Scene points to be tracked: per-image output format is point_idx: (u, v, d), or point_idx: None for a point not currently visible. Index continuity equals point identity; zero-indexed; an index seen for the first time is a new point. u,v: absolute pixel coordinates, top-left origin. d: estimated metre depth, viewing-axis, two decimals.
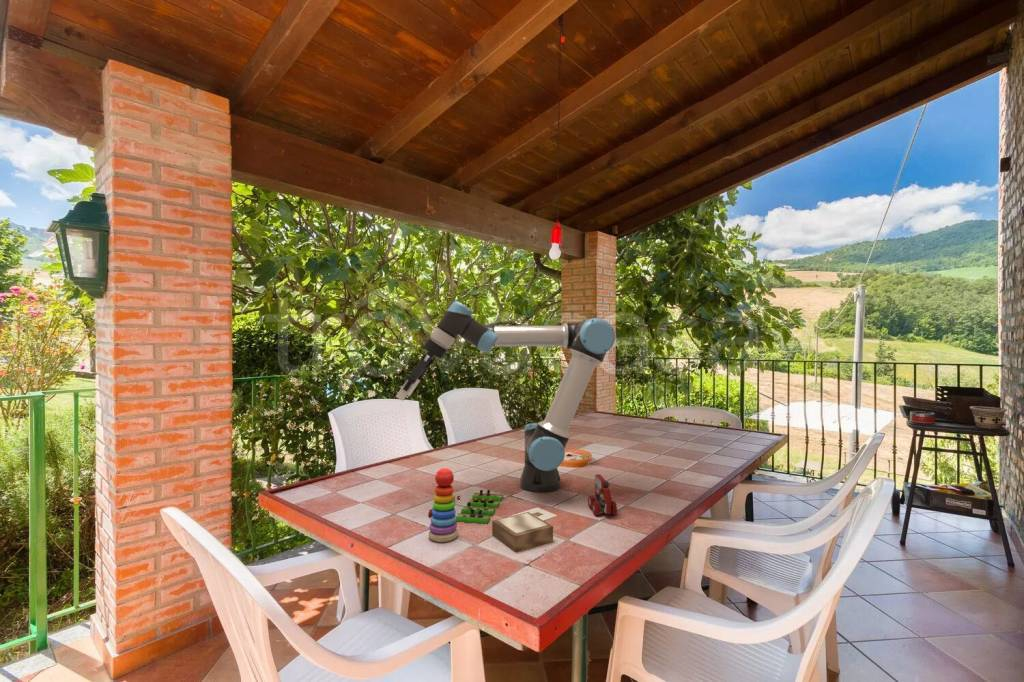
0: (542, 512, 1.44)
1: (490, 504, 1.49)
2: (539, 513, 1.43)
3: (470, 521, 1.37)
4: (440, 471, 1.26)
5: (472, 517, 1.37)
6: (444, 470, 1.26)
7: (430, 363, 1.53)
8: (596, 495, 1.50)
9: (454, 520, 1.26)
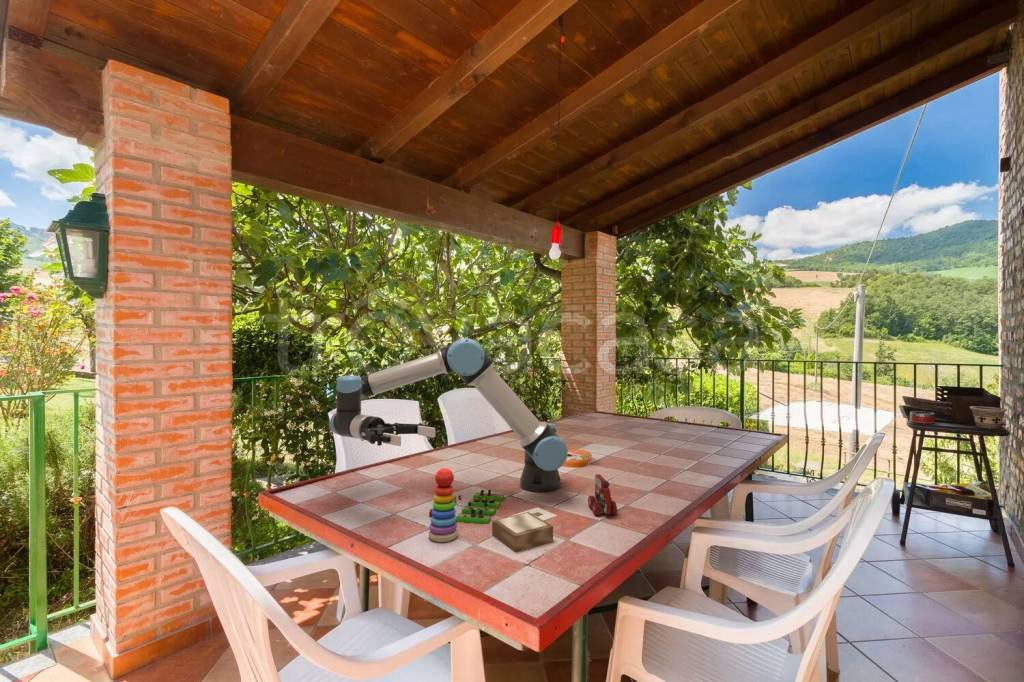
0: (542, 512, 1.44)
1: (491, 504, 1.49)
2: (539, 513, 1.43)
3: (471, 521, 1.37)
4: (440, 471, 1.26)
5: (473, 517, 1.37)
6: (444, 470, 1.26)
7: (377, 426, 1.38)
8: (596, 495, 1.50)
9: (454, 520, 1.26)
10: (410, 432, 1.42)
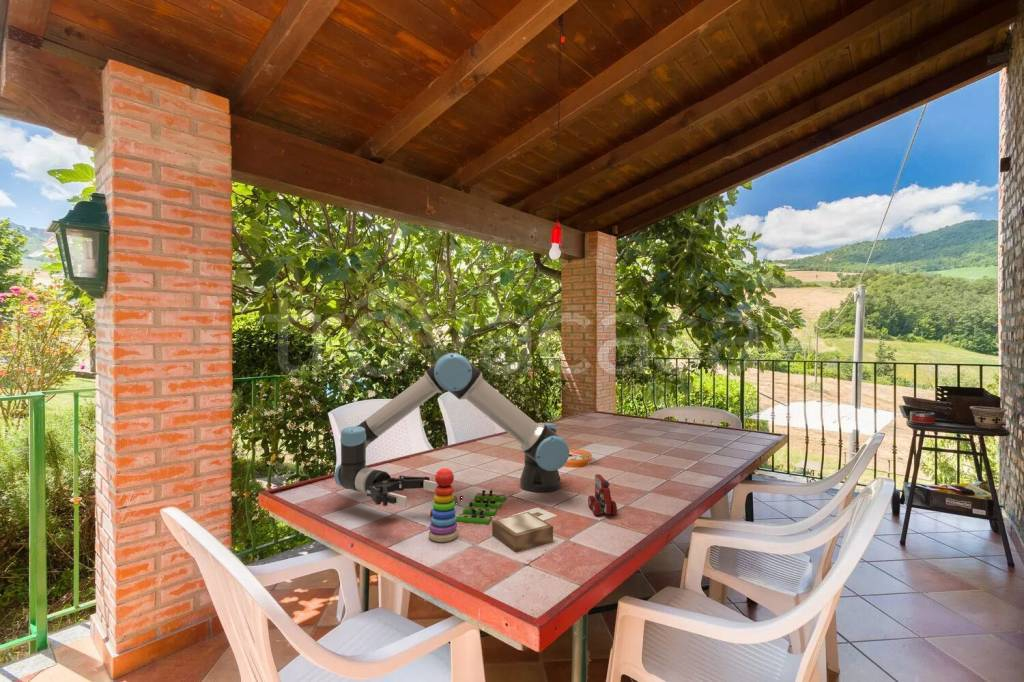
0: (542, 512, 1.44)
1: (492, 504, 1.49)
2: (539, 513, 1.43)
3: (471, 521, 1.36)
4: (440, 471, 1.26)
5: (473, 517, 1.37)
6: (444, 470, 1.26)
7: (382, 482, 1.37)
8: (596, 495, 1.50)
9: (454, 520, 1.26)
10: (415, 487, 1.40)
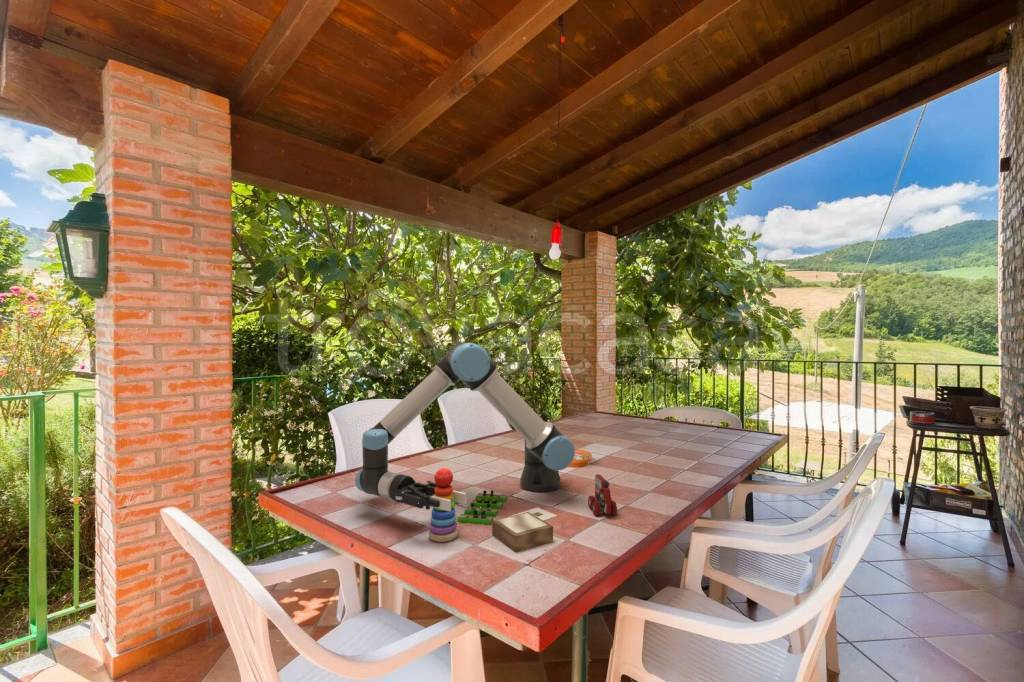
0: (542, 512, 1.44)
1: (494, 505, 1.48)
2: (539, 513, 1.43)
3: (473, 522, 1.36)
4: (439, 471, 1.26)
5: (475, 518, 1.37)
6: (443, 470, 1.26)
7: (409, 487, 1.31)
8: (596, 495, 1.50)
9: (454, 520, 1.26)
10: None
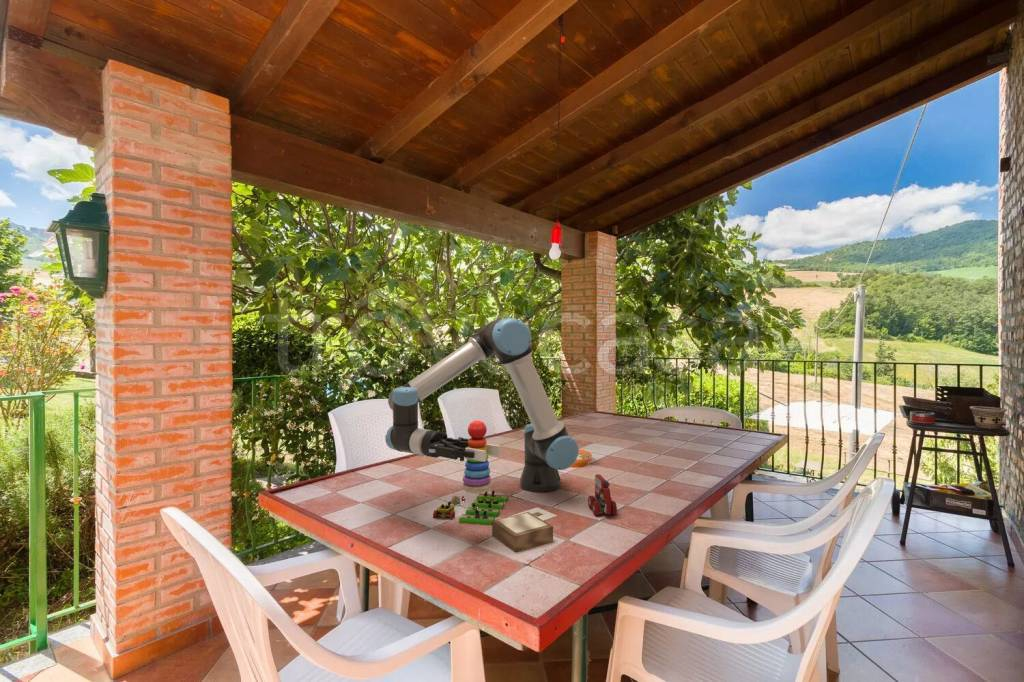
0: (542, 512, 1.44)
1: (495, 505, 1.48)
2: (539, 513, 1.43)
3: (475, 522, 1.36)
4: (473, 423, 1.24)
5: (477, 518, 1.37)
6: (477, 422, 1.24)
7: (442, 441, 1.30)
8: (596, 495, 1.50)
9: (488, 472, 1.24)
10: None
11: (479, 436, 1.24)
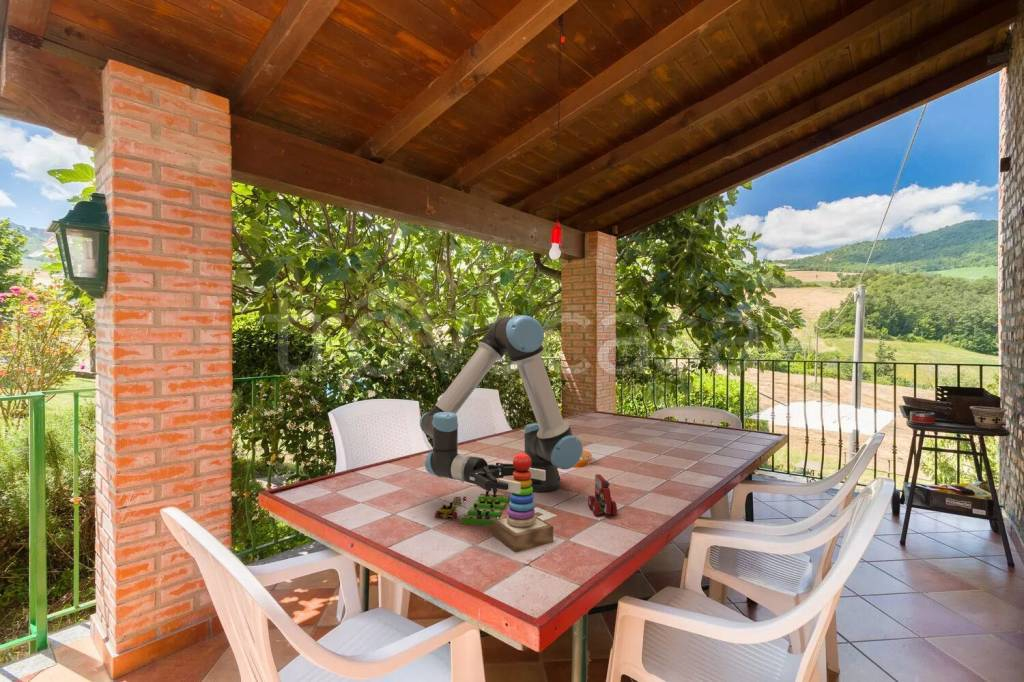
0: (542, 512, 1.44)
1: (497, 505, 1.48)
2: (539, 513, 1.43)
3: (477, 523, 1.36)
4: (518, 456, 1.26)
5: (479, 518, 1.36)
6: (522, 455, 1.26)
7: (484, 469, 1.30)
8: (596, 495, 1.50)
9: (533, 505, 1.25)
10: None
11: (525, 469, 1.25)
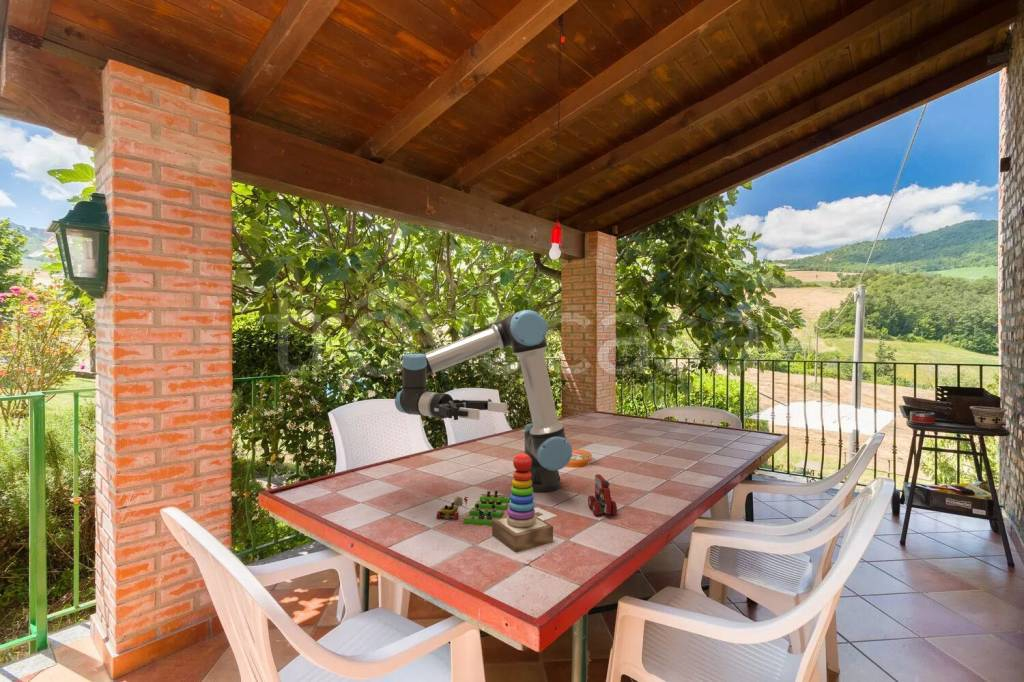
0: (542, 512, 1.44)
1: (498, 505, 1.48)
2: (539, 513, 1.43)
3: (479, 523, 1.35)
4: (519, 456, 1.26)
5: (481, 519, 1.36)
6: (523, 455, 1.25)
7: (448, 402, 1.38)
8: (596, 495, 1.50)
9: (533, 505, 1.25)
10: (479, 408, 1.41)
11: (525, 469, 1.25)
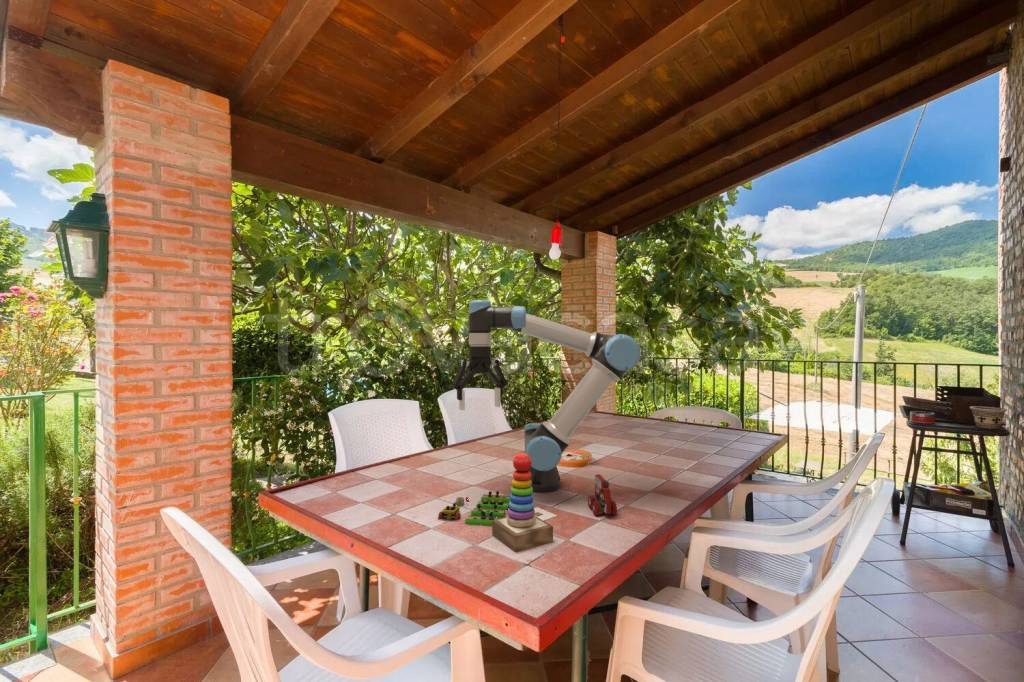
0: (542, 512, 1.44)
1: (500, 506, 1.47)
2: (539, 513, 1.43)
3: (481, 523, 1.35)
4: (518, 456, 1.26)
5: (483, 519, 1.36)
6: (522, 455, 1.26)
7: (475, 366, 1.55)
8: (596, 495, 1.50)
9: (533, 505, 1.25)
10: (493, 381, 1.61)
11: (525, 469, 1.25)
